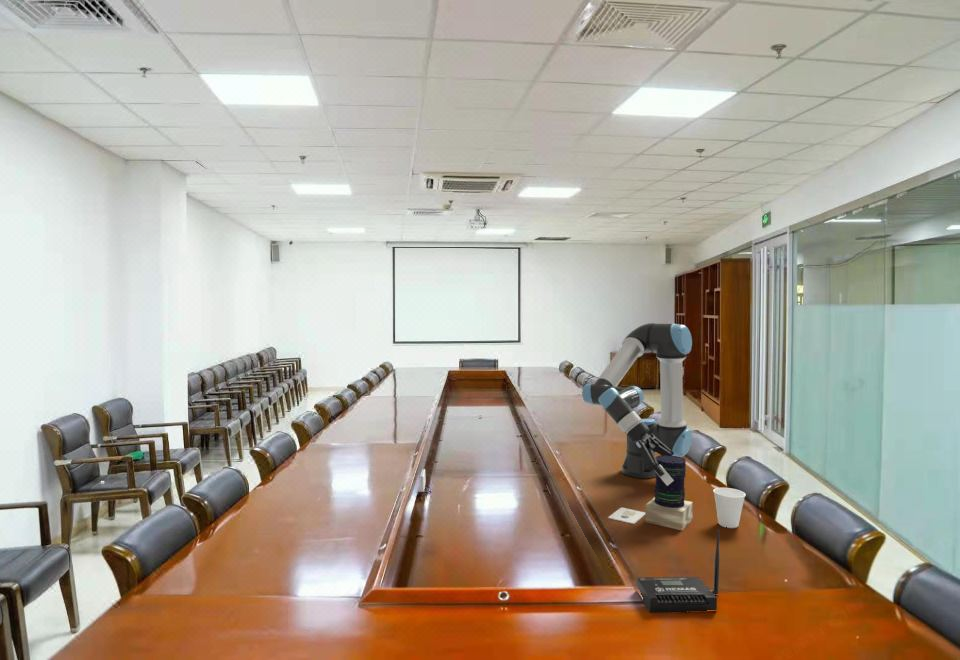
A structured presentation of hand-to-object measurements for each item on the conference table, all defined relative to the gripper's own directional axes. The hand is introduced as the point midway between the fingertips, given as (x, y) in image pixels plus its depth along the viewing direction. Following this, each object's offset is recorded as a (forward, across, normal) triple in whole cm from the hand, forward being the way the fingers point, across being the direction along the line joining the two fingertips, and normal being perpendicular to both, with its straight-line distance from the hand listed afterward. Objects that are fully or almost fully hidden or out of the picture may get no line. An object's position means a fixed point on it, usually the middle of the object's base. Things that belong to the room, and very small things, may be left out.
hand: (676, 478), depth 195 cm
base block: (+9, 0, -12) cm, 15 cm away
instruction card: (0, +4, -21) cm, 22 cm away
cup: (+21, -8, 0) cm, 23 cm away
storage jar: (+5, 0, -8) cm, 9 cm away
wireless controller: (+23, +52, +1) cm, 56 cm away
